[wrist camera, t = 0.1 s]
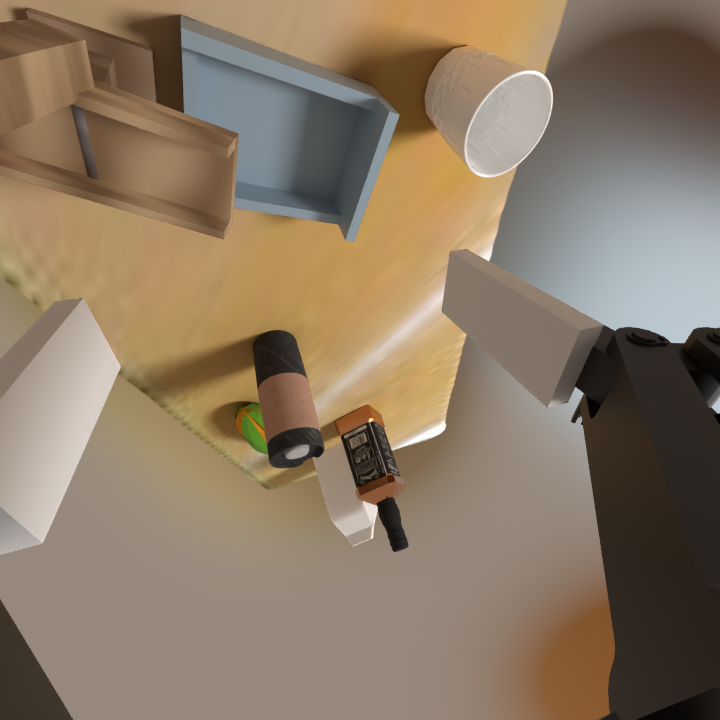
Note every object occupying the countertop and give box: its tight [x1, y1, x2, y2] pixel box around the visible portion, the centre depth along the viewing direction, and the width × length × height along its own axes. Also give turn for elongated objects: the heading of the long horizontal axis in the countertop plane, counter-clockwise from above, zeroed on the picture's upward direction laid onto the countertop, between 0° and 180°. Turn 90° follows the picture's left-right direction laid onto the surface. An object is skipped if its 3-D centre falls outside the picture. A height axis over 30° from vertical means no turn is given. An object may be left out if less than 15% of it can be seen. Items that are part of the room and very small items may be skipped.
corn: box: [235, 403, 268, 454], centre depth 72 cm, size 7×8×20 cm
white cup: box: [424, 45, 553, 177], centre depth 31 cm, size 8×8×10 cm
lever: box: [0, 18, 239, 239], centre depth 17 cm, size 18×9×12 cm, turn 70°
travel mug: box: [253, 330, 324, 468], centre depth 51 cm, size 8×8×20 cm
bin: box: [181, 15, 400, 241], centre depth 31 cm, size 16×12×7 cm
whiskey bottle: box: [335, 406, 408, 552], centre depth 81 cm, size 10×10×32 cm
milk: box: [312, 442, 377, 546], centre depth 98 cm, size 12×12×26 cm
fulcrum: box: [26, 8, 157, 103], centre depth 24 cm, size 7×7×8 cm
